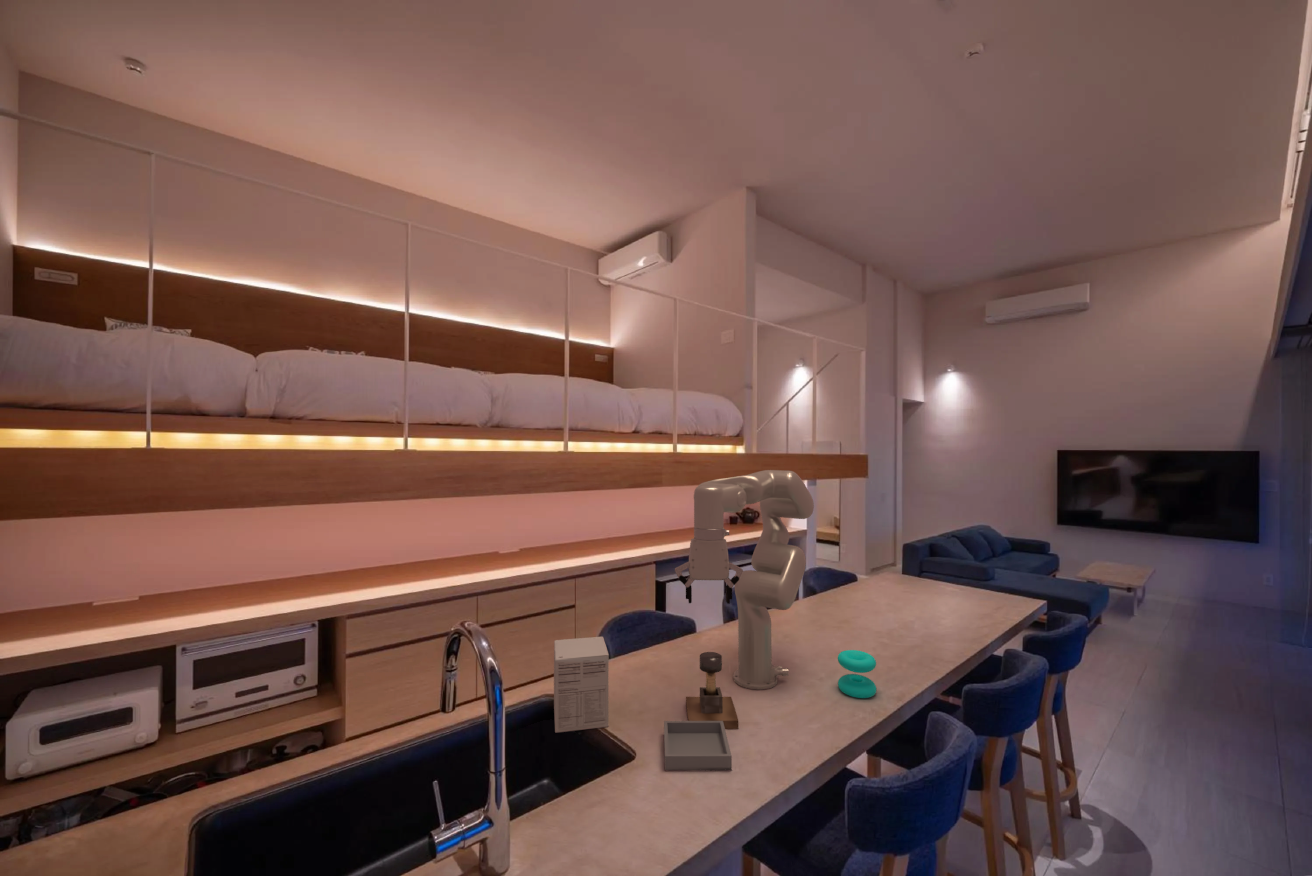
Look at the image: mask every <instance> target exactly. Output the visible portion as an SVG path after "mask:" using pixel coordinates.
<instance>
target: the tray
mask: <svg viewBox="0 0 1312 876" xmlns="http://www.w3.org/2000/svg"><path fill="white" fill-rule="evenodd" d="M663 739H664V740H663V741H664V742H663V743H664V744H663V746H664V747H663V748H664V751H663V752H664V771H665V770H705V771H704V772H706V770H710V771H709V772H711V771H712V770H715V772H716V770H732V769H733V765H732V758H733V757H732V753H731V748H730V744H729V741H728V736H727V732H726V729H725V727H724V723H723V721H688V720H664V721H663ZM732 771H733V770H732Z"/></svg>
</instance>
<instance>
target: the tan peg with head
mask: <svg viewBox="0 0 1312 876" xmlns="http://www.w3.org/2000/svg"><path fill="white" fill-rule="evenodd" d="M699 669H700V671H702V672H704V673H705V687H706V696H715V695H716V686H717V684H716V677H717V676H716V675H717V674H716V673H718V672H719V673H720V672H721V671H722V670H723V655H722V654H721V653H718V652H715V651H705V652H702V653H701V652H700V654H699Z"/></svg>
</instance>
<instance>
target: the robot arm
mask: <svg viewBox="0 0 1312 876" xmlns="http://www.w3.org/2000/svg"><path fill="white" fill-rule="evenodd" d="M757 503H759V509H760V516H761V520H762V532H761V534H760V536H759V539H758V541H757V543H756V546H755V547H754V550H753V554H752V556H751V561H750V562H751V566H752V568H753V570H752V569H749V570H748V569H747V570H743V568H742V567H739V566H738V565H736V564H733V563H732V562H730V560H729V551H728V550H729V549H728V543H727V539H726V538H725V537H726V536H730V530H729V529H725V527H724V526H725V525H724V521H725V520H724V513H730V514H734V513H738V512H740V511H742V510H743V509H744V508H745V506H746V505H753V504H757ZM814 504H815V503H814V500H813V497H812V494H811V492H810V491H809V489H808V487H807V486H806V484H805V482H804V481H803V480H802V478H801V477H800V476H799V475H798V473H796V472H795V471H793V470H780V469H765V470H760V471H755V472H753V473H749V474H744V475H737V476H732V477H726V478H725V477H724V478H717V479H713V480H708V481H704V482H701V483H700V484H699V485H698V486H697V487H695V489H694V492H693V538H691V539H690V544H689V550H688V551H689V553H688V561H686V562H684V563H683V564H681V565H679V566H677V567H675V568H674V572H675V575H676V576H677V578H678V581H680V582H681V583H682V584H683V585H684V587H685V599H686V600H688V604H691V603H693V601H692V599H693V598H692V596H693V595H692V594H693V593H692V592H693V590H692V587H693V586H692V583H694V581H724V582H725V602H726V604H727V605H729V604H730V603H731V600H733V588H734V593H735V598H736V599H735V600H736V604H737V619H738V620H737V622H738V625H737V626H738V627H737V628H738V629H737V631H738V633H737V634H738V637H737V639H738V641H737V642H738V644H737V645H738V649H737V650H738V653H737V654H738V669H737V670H735V671H734V672H733V675H732V678H733V681H734V682H735V683H736V684H737V685H739V686H741V687H743V688H744V689H745V688H746V689H750V690H759V691H760V690H767V689H771V688H774V687H775V686H776V685H777V683H778V676H784V677H785V676H789V674H790V673H789V669H788V668H786V667H785V668H783V667H782V665H775V664H773V663H772V659H773V658H772V651H773V650H772V619H771V614H770V612H769V610H768V609H767V608H770V609H774V610H778V611H779V610H780V611H787V610H789V609H790V608H791V607H792V606H793V604H794V602H795V599H796V597H797V594H798V592H799V591H798V590H799V588H800V585H801V583H802V581H803V577H804V574H805V569H806V563H807V561H806V554H805V552H804V550H803V549H802V548H800V547H799V546H798V545H792V544H789V541H790V533H789V530H788V528H787V527H786V525H785V524H784V522H783V521H782V519H781V518H785V519H797V520H805V519H808V518H810V517H811V516H812V515H813V514H814V513H813V512H814V507H815V505H814ZM687 569H688V574H689V575H688V577H687V578H686V576H685V575H683V571H685V570H687ZM730 570H732V571H734V572H735V574H734V575H733V576H732V577H731V578H730Z"/></svg>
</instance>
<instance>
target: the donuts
mask: <svg viewBox="0 0 1312 876" xmlns="http://www.w3.org/2000/svg"><path fill="white" fill-rule="evenodd" d="M837 662H838V663H839V665H840V666H841V667H842V668H843V669H845V670H847V671H849V672H852V673H847V674H844V675H842V676H840V677H839V678H838V680H837V686H838V688H839V691H841V692H842V693H843V694H845V695H847V696H849V697H852V698H856V699H868V698H871V697H873V696H875V695H876V693H877V685H876V683H875V682H874V681H873V680H872V679H870V678H869V677H866V676H864V675H862V674H864V673H870V672H871V671H873V670H874V669H875V668H876V667H877V661H876V658H875V657H874V656H873V655H871V654H870V653H868V652H865V651H862V650H857V649H847V650H843V651H841V652H839V653H838V655H837ZM853 672H854V673H853ZM856 673H859V674H856Z"/></svg>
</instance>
